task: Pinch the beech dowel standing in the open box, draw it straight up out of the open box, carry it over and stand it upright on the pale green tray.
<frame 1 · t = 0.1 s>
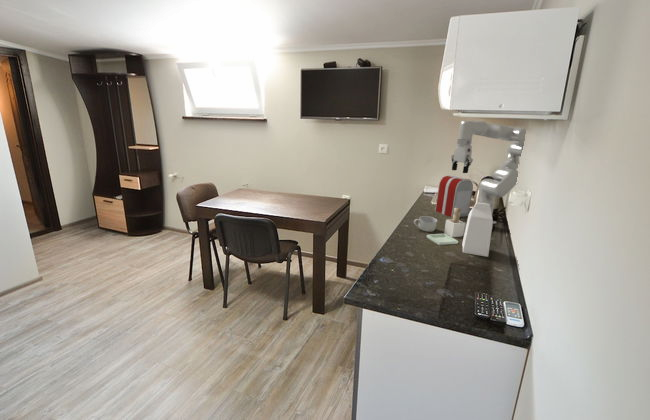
hand: (459, 171, 194), 37 cm above the countertop, tool pointing down, fingers open, 9 cm apart
red and white block: (451, 213, 240), on the countertop
tray: (441, 241, 183), on the countertop
milk: (474, 250, 172), on the countertop
open box: (453, 235, 193), on the countertop
dowel: (453, 234, 193), point 1 cm above the countertop, touching open box
teacup: (423, 231, 200), on the countertop
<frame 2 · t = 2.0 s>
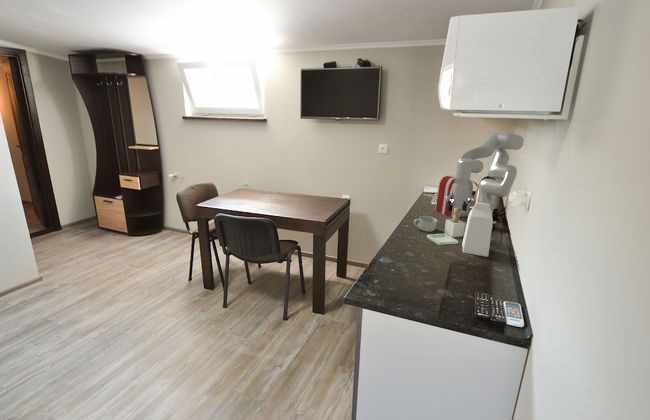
hand: (456, 210, 188), 16 cm above the countertop, tool pointing down, fingers open, 9 cm apart
nothing on the countertop moved.
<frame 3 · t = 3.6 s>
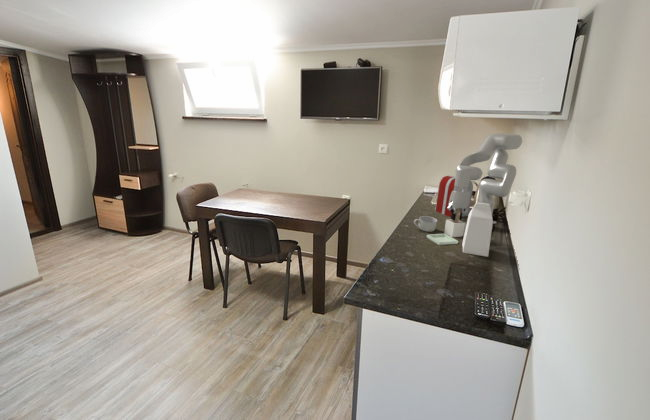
hand: (455, 219, 190), 10 cm above the countertop, tool pointing down, fingers closed on dowel, 3 cm apart
dowel: (453, 234, 193), point 1 cm above the countertop, touching open box, gripper
everything else where it was.
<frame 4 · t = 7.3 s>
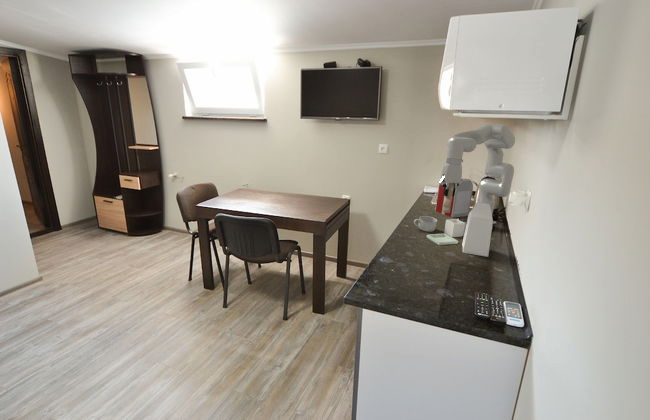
hand: (448, 195, 175), 27 cm above the countertop, tool pointing down, fingers closed on dowel, 3 cm apart
dowel: (446, 211, 178), point 17 cm above the countertop, touching gripper
everything else where it was.
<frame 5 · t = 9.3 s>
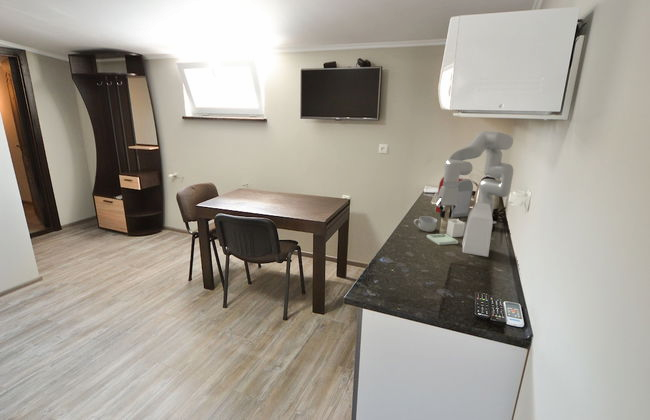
hand: (445, 216, 179), 15 cm above the countertop, tool pointing down, fingers closed on dowel, 3 cm apart
dowel: (442, 232, 181), point 5 cm above the countertop, touching gripper
everything else where it was.
when the fingers open (11 cm above the countertop, at t = 10.8 s): dowel stays where it is, resting on tray.
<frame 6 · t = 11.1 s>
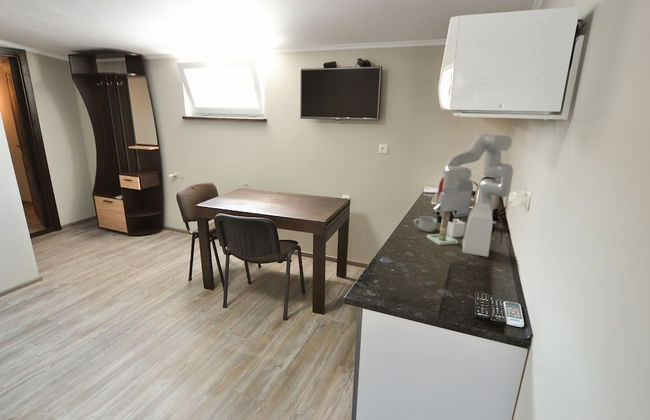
hand: (444, 221, 180), 12 cm above the countertop, tool pointing down, fingers open, 6 cm apart
dowel: (442, 239, 183), point 1 cm above the countertop, touching tray
everything else where it was.
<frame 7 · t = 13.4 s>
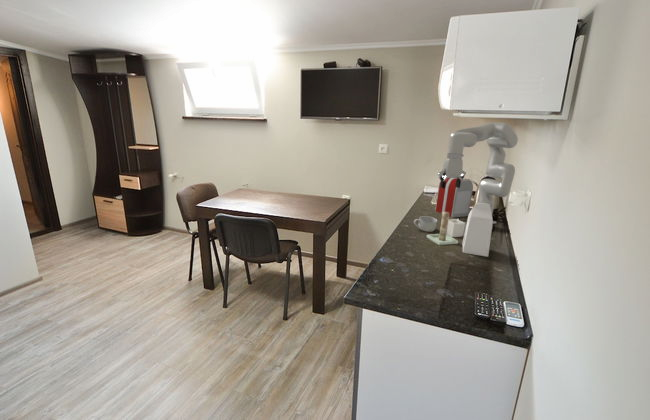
hand: (450, 187, 179), 30 cm above the countertop, tool pointing down, fingers open, 9 cm apart
nothing on the countertop moved.
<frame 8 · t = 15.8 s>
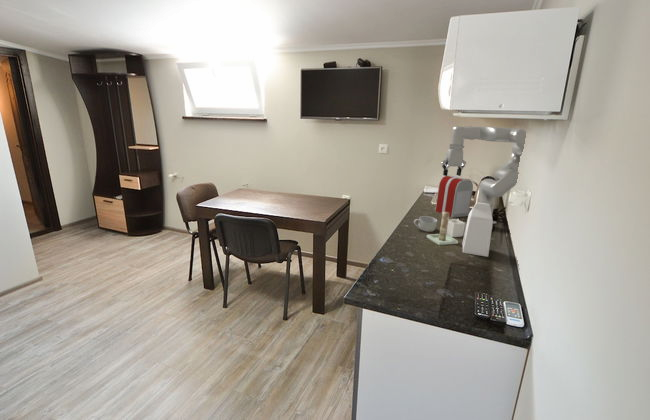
hand: (451, 175, 200), 33 cm above the countertop, tool pointing down, fingers open, 9 cm apart
nothing on the countertop moved.
at the end: dowel inside the target area on the tray (0.1 cm from its centre), point 1.0 cm above the tray's base; dowel tilted 0°; the gripper is holding nothing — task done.
